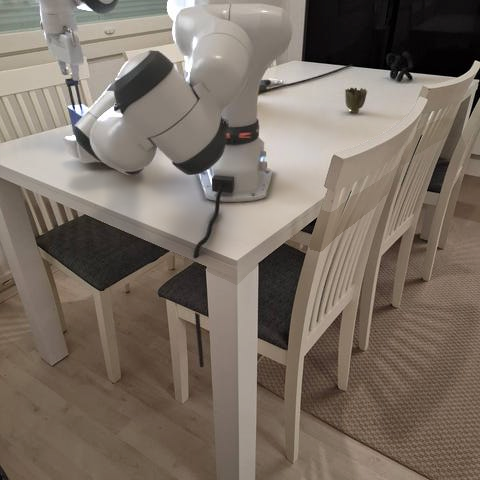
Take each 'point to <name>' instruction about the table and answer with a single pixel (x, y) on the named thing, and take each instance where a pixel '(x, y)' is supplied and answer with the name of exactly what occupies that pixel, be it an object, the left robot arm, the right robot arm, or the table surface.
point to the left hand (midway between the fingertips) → (70, 77)
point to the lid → (76, 109)
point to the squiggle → (399, 66)
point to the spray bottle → (268, 83)
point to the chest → (73, 119)
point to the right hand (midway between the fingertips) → (93, 131)
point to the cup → (355, 99)
